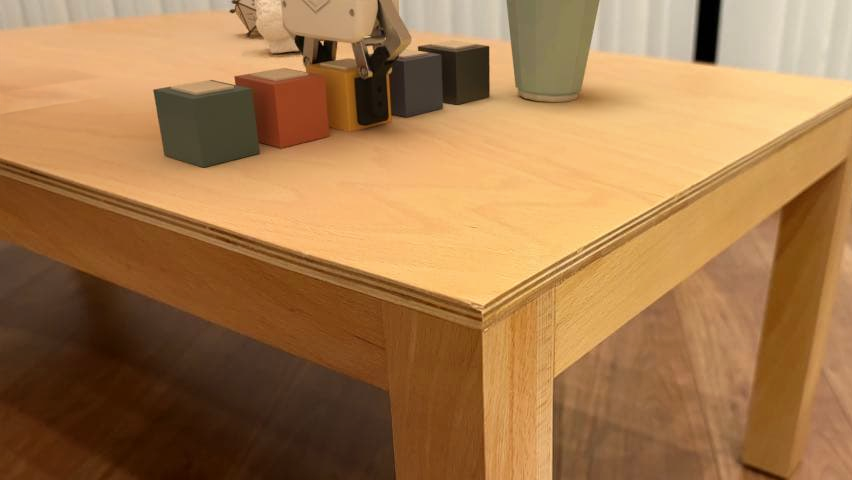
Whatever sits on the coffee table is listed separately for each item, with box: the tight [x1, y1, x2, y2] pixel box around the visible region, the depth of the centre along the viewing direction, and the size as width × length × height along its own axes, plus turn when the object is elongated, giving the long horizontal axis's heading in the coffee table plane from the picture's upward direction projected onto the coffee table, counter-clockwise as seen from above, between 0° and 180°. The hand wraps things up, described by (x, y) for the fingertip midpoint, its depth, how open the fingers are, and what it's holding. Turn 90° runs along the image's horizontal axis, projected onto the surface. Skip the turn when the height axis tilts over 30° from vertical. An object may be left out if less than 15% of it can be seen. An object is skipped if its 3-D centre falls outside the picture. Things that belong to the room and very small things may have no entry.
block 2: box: [233, 67, 330, 149], centre depth 70 cm, size 5×5×5 cm
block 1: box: [152, 79, 261, 168], centre depth 65 cm, size 5×5×5 cm
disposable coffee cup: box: [505, 0, 601, 103], centre depth 85 cm, size 11×11×15 cm
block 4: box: [417, 40, 491, 106], centre depth 85 cm, size 5×5×5 cm
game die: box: [228, 0, 259, 39], centre depth 119 cm, size 9×8×10 cm
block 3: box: [369, 48, 444, 118], centre depth 80 cm, size 5×5×5 cm
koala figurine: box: [254, 0, 300, 54], centre depth 106 cm, size 8×7×12 cm
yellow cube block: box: [305, 57, 392, 133], centre depth 75 cm, size 5×5×5 cm
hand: (350, 115), depth 76 cm, fingers closed on yellow cube block, 5 cm apart
